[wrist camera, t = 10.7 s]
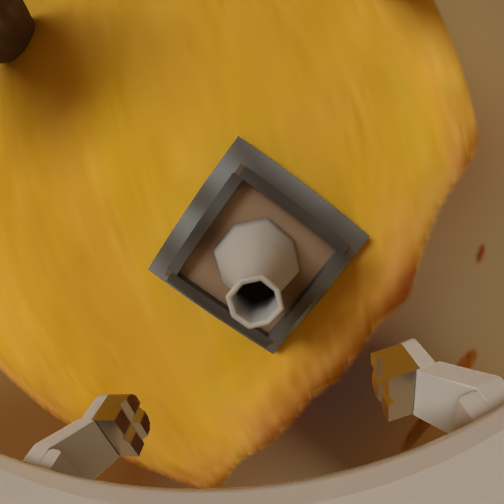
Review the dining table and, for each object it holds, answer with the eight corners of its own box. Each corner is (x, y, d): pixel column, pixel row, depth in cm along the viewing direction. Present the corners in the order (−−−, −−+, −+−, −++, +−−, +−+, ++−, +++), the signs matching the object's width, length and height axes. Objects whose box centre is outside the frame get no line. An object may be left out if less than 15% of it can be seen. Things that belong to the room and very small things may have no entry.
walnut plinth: (239, 137, 28) (234, 129, 24) (366, 234, 30) (384, 244, 25) (151, 266, 31) (133, 281, 27) (272, 349, 33) (274, 374, 28)
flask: (270, 202, 26) (276, 213, 16) (313, 272, 27) (340, 320, 17) (199, 246, 27) (166, 282, 17) (244, 312, 28) (236, 375, 18)
